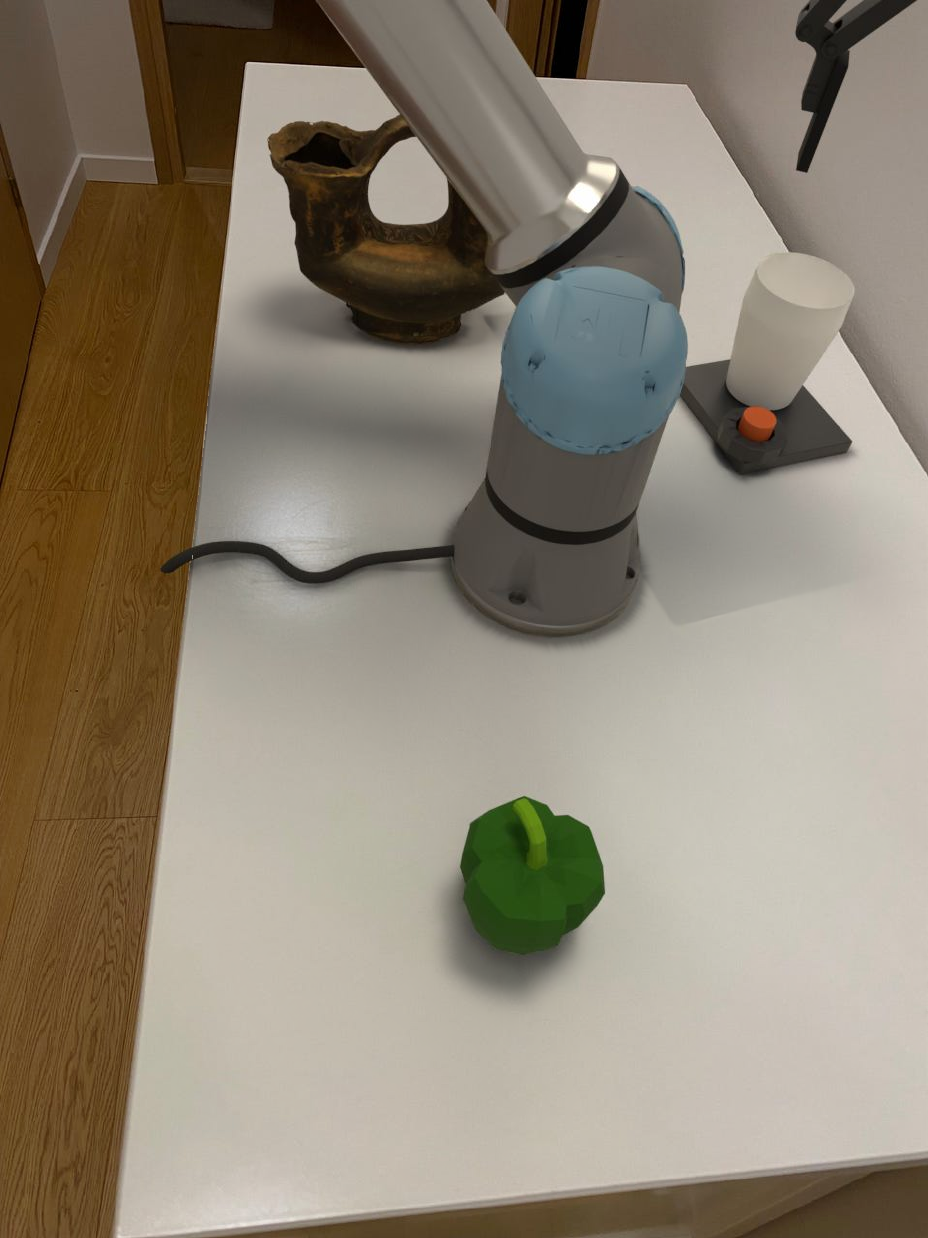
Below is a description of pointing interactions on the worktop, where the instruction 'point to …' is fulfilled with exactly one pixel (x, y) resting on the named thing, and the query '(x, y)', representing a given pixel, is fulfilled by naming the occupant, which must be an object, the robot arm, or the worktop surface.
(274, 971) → the worktop surface
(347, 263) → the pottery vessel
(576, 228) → the robot arm
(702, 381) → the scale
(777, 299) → the cup
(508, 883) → the bell pepper
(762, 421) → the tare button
